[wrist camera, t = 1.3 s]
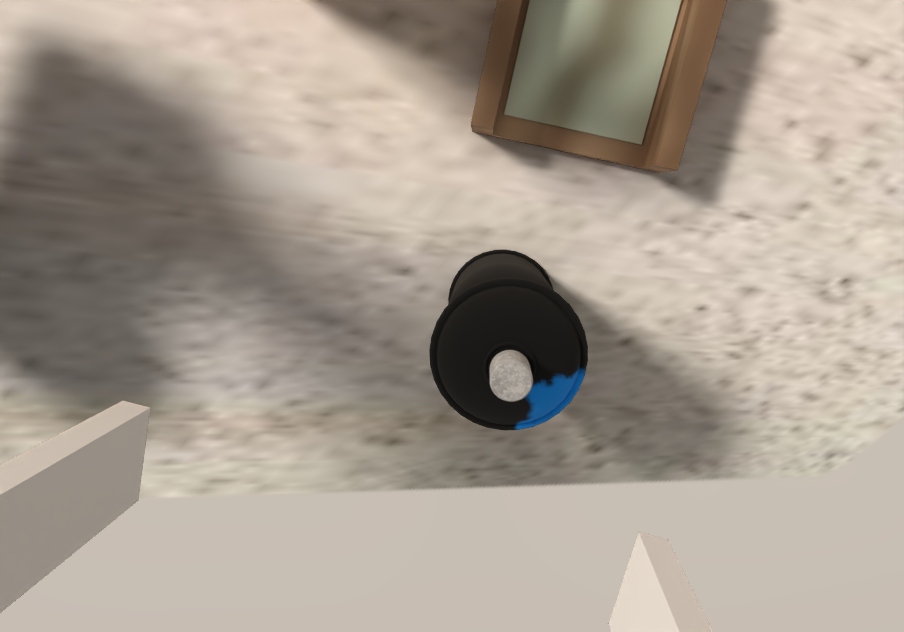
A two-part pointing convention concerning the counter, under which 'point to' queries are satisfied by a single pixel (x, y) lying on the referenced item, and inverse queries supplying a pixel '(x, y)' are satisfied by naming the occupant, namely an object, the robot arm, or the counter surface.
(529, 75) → the u rest
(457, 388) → the aerosol can
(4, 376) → the counter surface
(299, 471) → the counter surface
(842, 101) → the counter surface
